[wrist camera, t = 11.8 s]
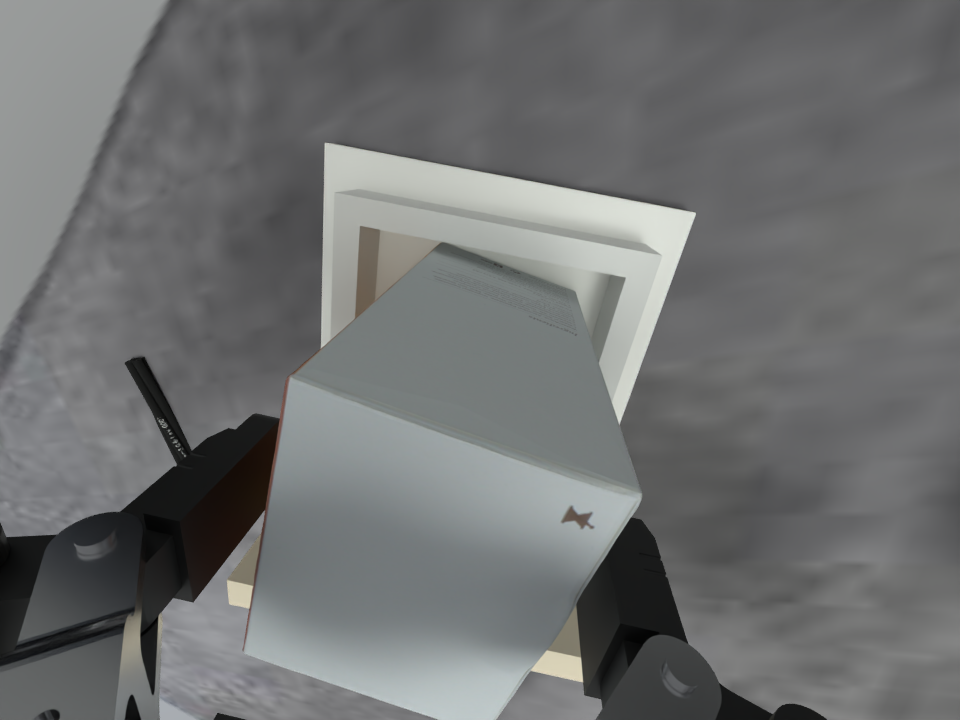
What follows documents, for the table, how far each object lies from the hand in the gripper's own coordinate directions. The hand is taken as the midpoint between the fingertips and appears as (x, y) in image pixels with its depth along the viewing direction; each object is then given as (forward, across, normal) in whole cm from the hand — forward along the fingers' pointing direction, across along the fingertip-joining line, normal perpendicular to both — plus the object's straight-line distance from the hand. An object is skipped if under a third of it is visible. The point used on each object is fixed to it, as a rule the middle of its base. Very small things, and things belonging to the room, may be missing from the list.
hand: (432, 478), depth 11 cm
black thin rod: (+11, +16, +11) cm, 23 cm away
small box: (+10, 0, 0) cm, 10 cm away
